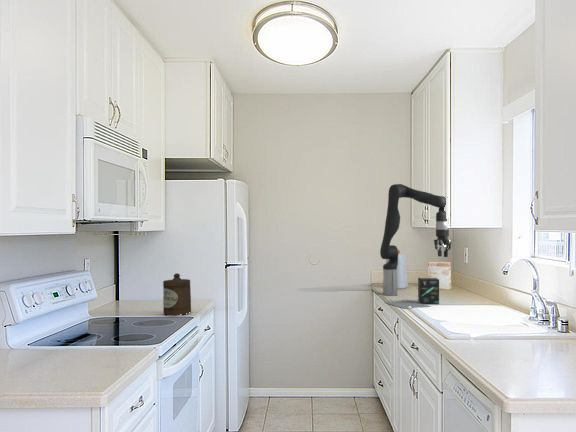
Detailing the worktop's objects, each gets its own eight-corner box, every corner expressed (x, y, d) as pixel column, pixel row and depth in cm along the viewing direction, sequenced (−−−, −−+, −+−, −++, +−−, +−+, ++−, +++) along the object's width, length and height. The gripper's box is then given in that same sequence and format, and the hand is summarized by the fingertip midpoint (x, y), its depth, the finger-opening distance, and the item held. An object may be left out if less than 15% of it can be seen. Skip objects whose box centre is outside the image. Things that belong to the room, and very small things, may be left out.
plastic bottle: (382, 288, 345) (382, 250, 345) (390, 286, 357) (390, 249, 358) (402, 289, 336) (401, 251, 337) (409, 287, 348) (409, 250, 349)
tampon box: (436, 301, 282) (436, 277, 282) (439, 304, 273) (439, 279, 273) (417, 301, 283) (417, 277, 283) (420, 303, 274) (420, 278, 274)
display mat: (383, 302, 281) (383, 302, 281) (408, 300, 286) (408, 300, 286) (404, 308, 260) (404, 308, 260) (430, 306, 265) (430, 306, 265)
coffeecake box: (451, 288, 338) (451, 261, 338) (449, 289, 332) (448, 262, 332) (430, 287, 346) (430, 261, 346) (428, 288, 340) (427, 262, 340)
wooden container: (158, 313, 255) (158, 273, 255) (181, 310, 265) (181, 271, 266) (172, 317, 244) (172, 275, 245) (196, 313, 255) (196, 273, 255)
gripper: (429, 228, 288) (430, 256, 288) (444, 229, 274) (445, 257, 274) (440, 228, 290) (440, 255, 290) (455, 228, 277) (455, 257, 276)
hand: (442, 256), depth 282 cm, fingers open, 5 cm apart
